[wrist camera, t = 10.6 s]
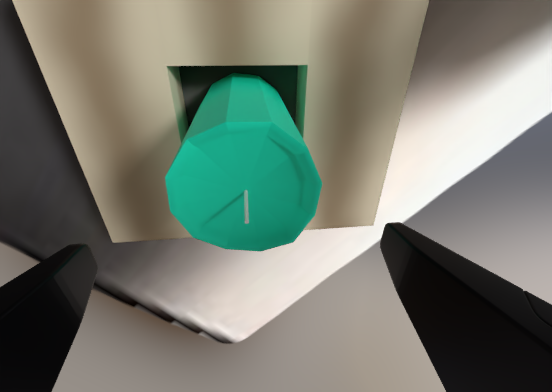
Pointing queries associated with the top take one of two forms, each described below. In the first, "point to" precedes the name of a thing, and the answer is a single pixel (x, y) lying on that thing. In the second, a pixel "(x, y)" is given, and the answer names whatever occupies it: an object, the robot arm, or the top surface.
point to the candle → (243, 169)
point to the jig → (223, 52)
